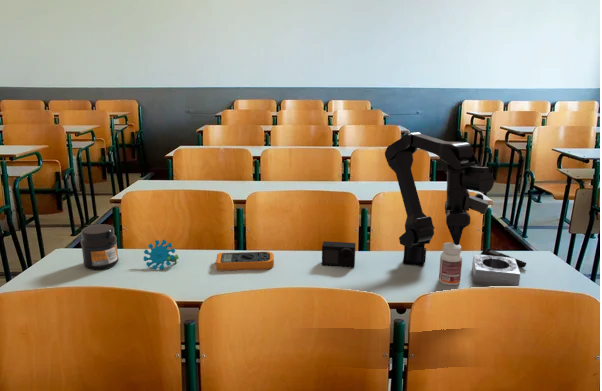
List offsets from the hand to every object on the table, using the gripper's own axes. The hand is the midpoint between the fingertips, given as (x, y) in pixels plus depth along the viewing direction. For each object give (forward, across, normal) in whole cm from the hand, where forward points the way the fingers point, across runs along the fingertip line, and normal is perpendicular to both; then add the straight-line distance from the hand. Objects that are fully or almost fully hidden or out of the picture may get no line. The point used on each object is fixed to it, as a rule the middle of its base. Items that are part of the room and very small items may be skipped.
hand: (456, 240), depth 149 cm
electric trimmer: (+13, +20, -16) cm, 29 cm away
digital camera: (+11, +4, +36) cm, 38 cm away
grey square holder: (+13, +5, -12) cm, 18 cm away
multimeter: (+10, -3, +64) cm, 65 cm away
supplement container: (+8, -14, +109) cm, 110 cm away
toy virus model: (+9, -10, +90) cm, 91 cm away
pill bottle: (+13, +1, +2) cm, 13 cm away
